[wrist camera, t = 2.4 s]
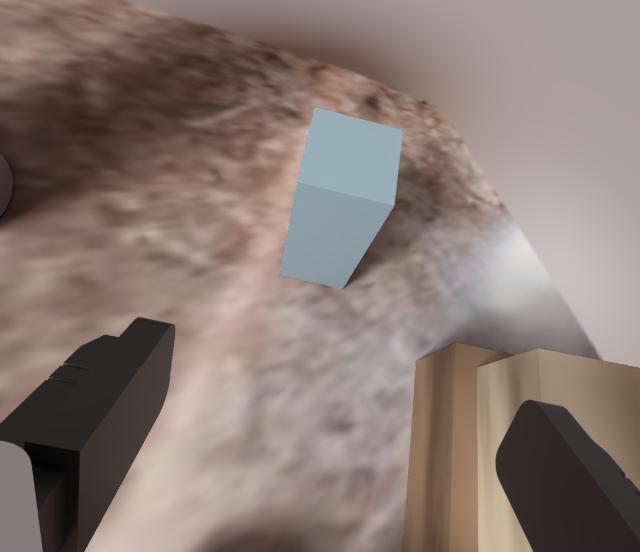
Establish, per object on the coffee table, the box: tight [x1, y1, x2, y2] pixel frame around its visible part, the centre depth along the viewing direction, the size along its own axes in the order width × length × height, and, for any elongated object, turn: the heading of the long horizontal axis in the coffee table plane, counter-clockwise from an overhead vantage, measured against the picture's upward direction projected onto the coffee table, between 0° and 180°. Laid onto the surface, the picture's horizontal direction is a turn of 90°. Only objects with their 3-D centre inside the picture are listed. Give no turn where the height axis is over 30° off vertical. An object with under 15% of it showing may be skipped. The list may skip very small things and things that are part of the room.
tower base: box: [403, 342, 515, 552], centre depth 23 cm, size 11×12×6 cm
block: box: [279, 107, 403, 289], centre depth 24 cm, size 4×4×11 cm
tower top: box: [477, 348, 640, 552], centre depth 18 cm, size 9×10×5 cm
